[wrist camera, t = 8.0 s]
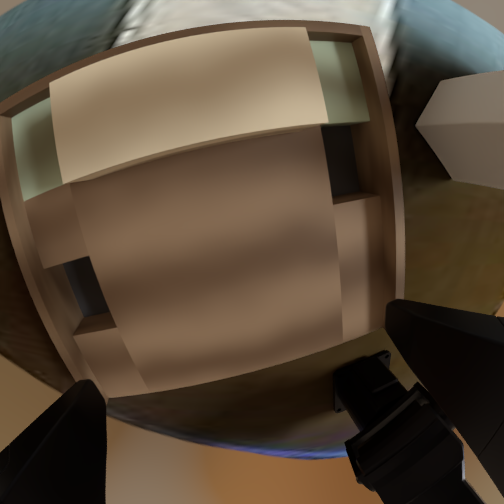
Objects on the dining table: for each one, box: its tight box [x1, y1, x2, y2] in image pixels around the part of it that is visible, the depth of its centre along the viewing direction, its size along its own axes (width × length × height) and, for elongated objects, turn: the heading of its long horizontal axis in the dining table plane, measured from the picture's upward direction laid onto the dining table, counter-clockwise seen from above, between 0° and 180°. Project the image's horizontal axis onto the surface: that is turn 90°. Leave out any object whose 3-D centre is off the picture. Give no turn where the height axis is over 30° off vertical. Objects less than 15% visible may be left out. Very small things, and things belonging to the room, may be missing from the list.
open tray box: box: [0, 20, 405, 406], centre depth 17 cm, size 22×24×4 cm
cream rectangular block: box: [49, 27, 329, 184], centre depth 12 cm, size 5×12×4 cm, turn 101°
